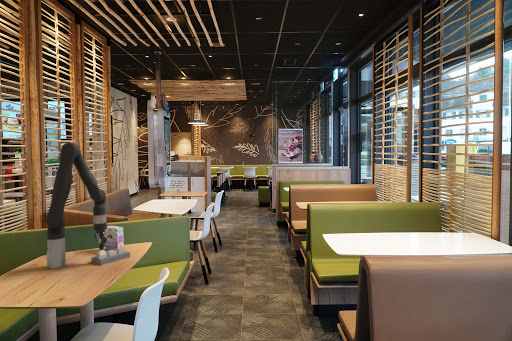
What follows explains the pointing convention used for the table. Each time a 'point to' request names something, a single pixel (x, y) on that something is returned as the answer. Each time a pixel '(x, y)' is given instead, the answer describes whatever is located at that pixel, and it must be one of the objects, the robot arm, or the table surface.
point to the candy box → (114, 238)
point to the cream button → (101, 252)
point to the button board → (110, 257)
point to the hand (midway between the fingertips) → (101, 249)
